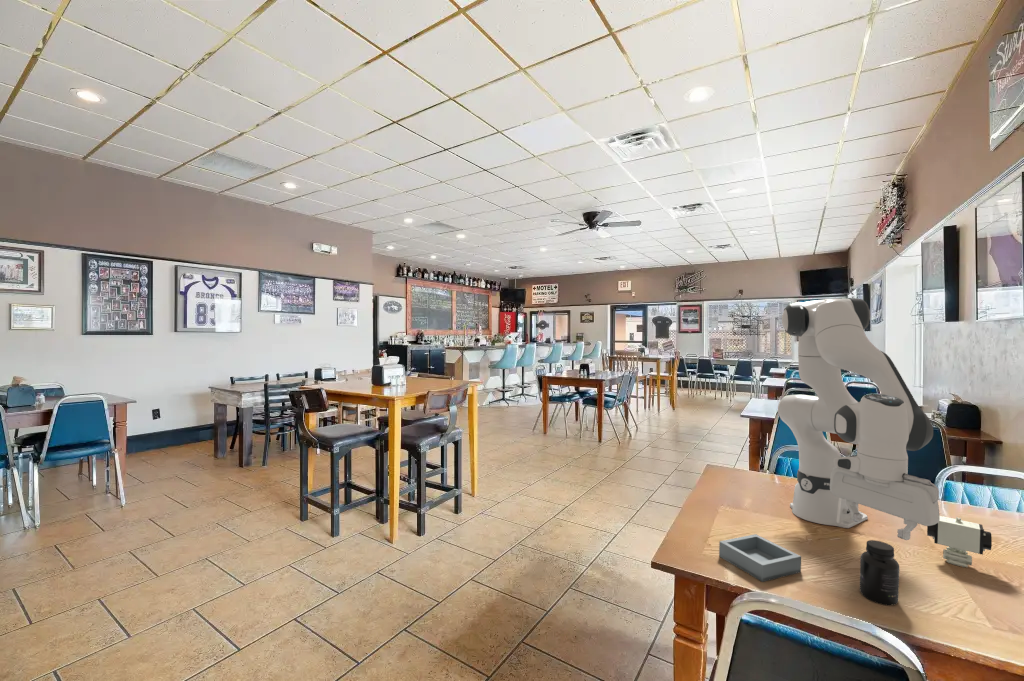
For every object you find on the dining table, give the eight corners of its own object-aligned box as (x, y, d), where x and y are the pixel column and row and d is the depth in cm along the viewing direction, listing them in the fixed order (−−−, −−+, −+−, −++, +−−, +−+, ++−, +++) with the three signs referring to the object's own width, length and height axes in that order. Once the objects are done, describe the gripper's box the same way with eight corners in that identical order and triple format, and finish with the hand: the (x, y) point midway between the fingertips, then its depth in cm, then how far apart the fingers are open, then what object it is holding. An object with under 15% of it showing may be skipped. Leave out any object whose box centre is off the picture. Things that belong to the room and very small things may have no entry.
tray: (755, 548, 124) (755, 534, 123) (800, 572, 111) (801, 556, 111) (719, 556, 119) (719, 541, 119) (762, 582, 107) (762, 565, 107)
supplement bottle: (851, 589, 104) (852, 537, 104) (878, 588, 105) (880, 537, 105) (878, 607, 97) (879, 552, 97) (907, 606, 98) (908, 551, 98)
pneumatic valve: (990, 575, 111) (992, 527, 111) (926, 558, 119) (927, 513, 119) (988, 567, 115) (990, 520, 115) (926, 551, 123) (927, 508, 123)
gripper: (948, 481, 92) (945, 548, 92) (844, 455, 111) (842, 511, 111) (929, 483, 90) (926, 552, 90) (826, 457, 109) (824, 514, 109)
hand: (879, 529), depth 101 cm, fingers open, 8 cm apart
